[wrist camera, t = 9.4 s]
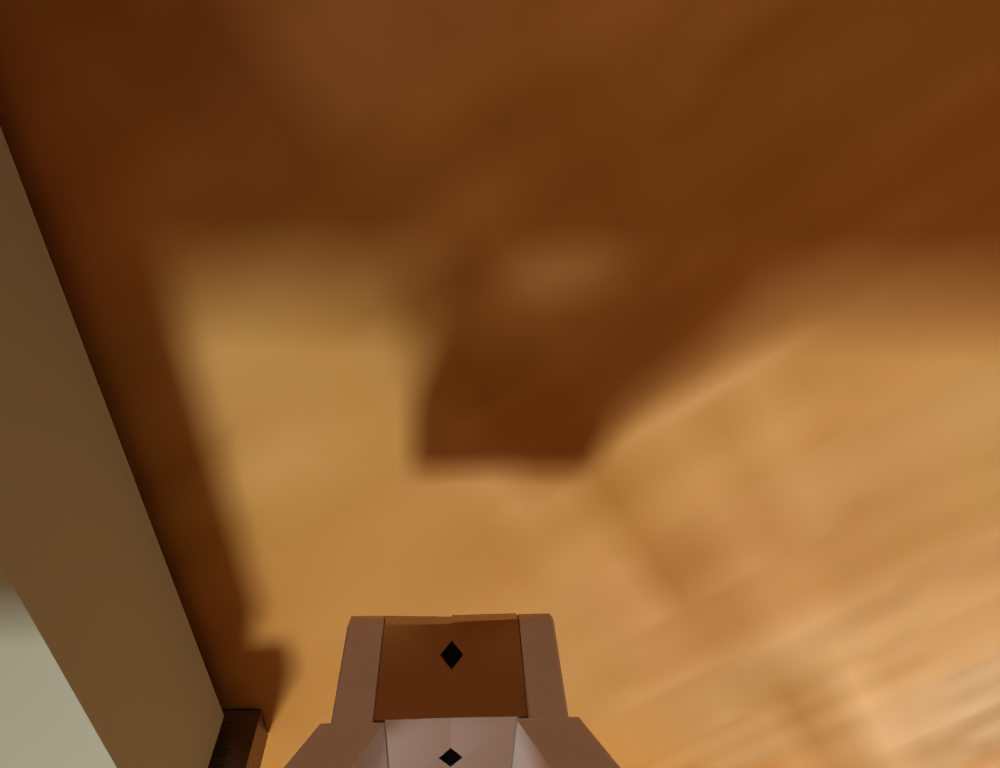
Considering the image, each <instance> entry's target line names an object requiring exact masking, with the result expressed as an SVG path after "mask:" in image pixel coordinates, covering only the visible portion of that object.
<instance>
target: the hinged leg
mask: <svg viewBox="0 0 1000 768" xmlns="http://www.w3.org/2000/svg"><path fill="white" fill-rule="evenodd" d="M223 718H224V714H223V712H222V709H221V706H220V704H219V701H218V699H217V696H216V693H215V691H214V688H213V685H212V683H211V680H210V677H209V675H208V672H207V670H206V667H205V664H204V662H203V659H202V656H201V654H200V651H199V648H198V646H197V643H196V641H195V638H194V635H193V633H192V630H191V627H190V625H189V622H188V619H187V617H186V614H185V612H184V609H183V606H182V604H181V601H180V598H179V596H178V593H177V590H176V588H175V585H174V583H173V580H172V577H171V575H170V572H169V569H168V567H167V564H166V561H165V559H164V556H163V554H162V551H161V548H160V546H159V543H158V540H157V538H156V535H155V533H154V530H153V527H152V525H151V522H150V519H149V517H148V514H147V511H146V509H145V506H144V504H143V501H142V498H141V496H140V493H139V490H138V488H137V485H136V482H135V480H134V477H133V475H132V472H131V469H130V467H129V464H128V461H127V459H126V456H125V453H124V451H123V448H122V446H121V443H120V440H119V438H118V435H117V432H116V430H115V427H114V424H113V422H112V419H111V417H110V414H109V411H108V409H107V406H106V403H105V401H104V398H103V395H102V393H101V390H100V388H99V385H98V382H97V380H96V377H95V374H94V372H93V369H92V366H91V364H90V361H89V359H88V356H87V353H86V351H85V348H84V345H83V343H82V340H81V337H80V335H79V332H78V330H77V327H76V324H75V322H74V319H73V316H72V314H71V311H70V308H69V306H68V303H67V301H66V298H65V295H64V293H63V290H62V287H61V285H60V282H59V279H58V277H57V274H56V272H55V269H54V266H53V264H52V261H51V258H50V256H49V253H48V250H47V248H46V245H45V243H44V240H43V237H42V235H41V232H40V229H39V227H38V224H37V221H36V219H35V216H34V214H33V211H32V208H31V206H30V203H29V200H28V198H27V195H26V192H25V190H24V187H23V185H22V182H21V179H20V177H19V174H18V171H17V169H16V166H15V163H14V161H13V158H12V156H11V153H10V150H9V148H8V145H7V142H6V140H5V137H4V134H3V132H2V129H1V127H0V768H208V765H209V762H210V759H211V756H212V753H213V750H214V746H215V743H216V740H217V737H218V734H219V731H220V728H221V724H222V721H223Z"/></svg>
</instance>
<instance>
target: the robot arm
mask: <svg viewBox="0 0 1000 768" xmlns="http://www.w3.org/2000/svg"><path fill="white" fill-rule="evenodd" d="M284 768H620V767H619V766H618V764H617V763H616V762H615V761H614V759H613V758H612V757H611V756H610V755H609V753H608V752H607V751H606V750H605V749H604V747H603V746H602V745H601V744H600V742H599V741H598V740H597V739H596V738H595V736H594V735H593V734H592V733H591V731H590V730H589V729H588V728H587V727H586V725H585V724H584V723H583V722H582V721H581V719H580V718H579V717H568V711H567V705H566V698H565V692H564V685H563V679H562V673H561V666H560V660H559V653H558V647H557V640H556V634H555V627H554V621H553V618H552V617H551V615H550V614H549V613H547V614H518V615H516V613H509V614H476V615H452V617H437V616H351V619H350V622H349V624H348V627H347V632H346V638H345V644H344V650H343V656H342V662H341V668H340V673H339V679H338V685H337V691H336V697H335V703H334V709H333V714H332V720H331V723H326V724H320V725H319V726H318V727H317V728H316V730H315V731H314V732H313V733H312V735H311V736H310V737H309V738H308V739H307V741H306V742H305V743H304V744H303V745H302V747H301V748H300V749H299V750H298V751H297V753H296V754H295V755H294V756H293V758H292V759H291V760H290V761H289V762H288V764H287V765H286V766H285V767H284Z"/></svg>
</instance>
